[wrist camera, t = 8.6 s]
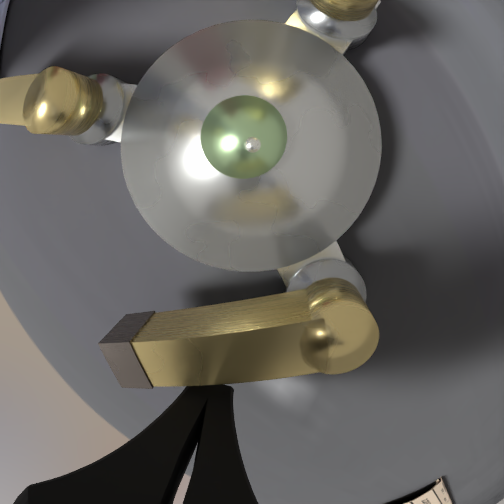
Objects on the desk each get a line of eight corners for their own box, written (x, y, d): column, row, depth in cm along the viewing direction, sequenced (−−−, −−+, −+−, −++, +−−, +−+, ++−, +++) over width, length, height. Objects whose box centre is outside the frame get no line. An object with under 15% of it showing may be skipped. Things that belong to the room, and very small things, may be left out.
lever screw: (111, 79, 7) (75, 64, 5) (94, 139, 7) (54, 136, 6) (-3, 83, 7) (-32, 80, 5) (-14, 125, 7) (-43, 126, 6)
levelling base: (67, 72, 8) (46, 65, 7) (361, -15, 6) (369, -33, 5) (141, 350, 11) (128, 369, 10) (429, 302, 10) (445, 319, 8)
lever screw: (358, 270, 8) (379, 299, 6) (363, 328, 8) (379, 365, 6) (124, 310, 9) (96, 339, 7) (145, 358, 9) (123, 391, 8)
